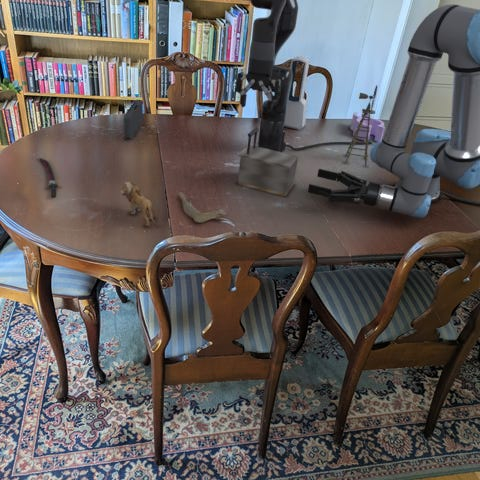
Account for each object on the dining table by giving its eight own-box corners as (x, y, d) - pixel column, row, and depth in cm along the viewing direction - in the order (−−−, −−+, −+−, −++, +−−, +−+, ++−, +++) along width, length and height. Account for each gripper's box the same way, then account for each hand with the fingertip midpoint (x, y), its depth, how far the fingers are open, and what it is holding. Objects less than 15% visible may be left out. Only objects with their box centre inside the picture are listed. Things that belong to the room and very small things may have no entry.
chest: (237, 184, 160) (240, 156, 155) (248, 173, 168) (250, 147, 163) (285, 196, 156) (289, 168, 150) (293, 184, 164) (298, 158, 158)
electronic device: (304, 126, 217) (316, 59, 201) (301, 131, 211) (313, 62, 195) (279, 121, 220) (288, 54, 204) (275, 125, 214) (284, 57, 198)
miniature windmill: (366, 166, 183) (386, 89, 167) (344, 163, 184) (362, 86, 168) (365, 158, 191) (384, 83, 175) (345, 154, 192) (362, 80, 176)
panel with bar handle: (237, 156, 155) (240, 132, 151) (248, 146, 163) (250, 124, 159) (289, 168, 150) (293, 144, 146) (298, 158, 158) (301, 135, 154)
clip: (343, 126, 223) (346, 112, 219) (367, 127, 225) (371, 113, 221) (360, 142, 206) (364, 127, 202) (386, 142, 209) (390, 127, 205)
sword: (61, 197, 141) (61, 193, 140) (50, 198, 139) (50, 194, 139) (49, 160, 164) (48, 156, 163) (39, 160, 163) (39, 157, 162)
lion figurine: (118, 210, 138) (116, 182, 133) (132, 204, 141) (131, 177, 137) (151, 229, 130) (150, 201, 126) (165, 223, 134) (165, 195, 129)
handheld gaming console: (136, 121, 202) (136, 98, 197) (143, 121, 202) (142, 98, 197) (123, 140, 183) (122, 115, 178) (130, 141, 183) (130, 116, 178)
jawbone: (206, 230, 134) (206, 224, 132) (158, 205, 144) (157, 199, 143) (227, 217, 139) (227, 212, 138) (179, 194, 150) (179, 188, 148)
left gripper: (235, 54, 140) (230, 107, 149) (280, 62, 137) (272, 116, 145) (244, 50, 146) (239, 102, 155) (287, 58, 143) (280, 110, 151)
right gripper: (370, 223, 140) (302, 206, 145) (379, 190, 160) (319, 176, 165) (376, 201, 136) (306, 184, 141) (385, 170, 156) (323, 156, 161)
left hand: (255, 109), depth 150 cm, fingers open, 8 cm apart
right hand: (313, 180), depth 153 cm, fingers open, 13 cm apart
